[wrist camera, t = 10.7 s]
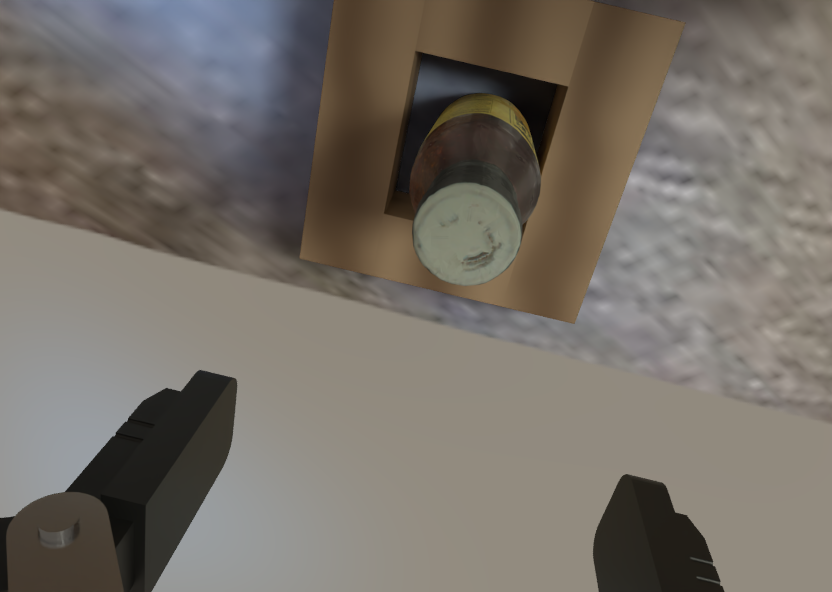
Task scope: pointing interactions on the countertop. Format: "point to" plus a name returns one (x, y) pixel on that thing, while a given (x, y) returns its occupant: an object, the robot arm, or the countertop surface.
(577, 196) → the square wooden frame
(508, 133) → the sauce bottle
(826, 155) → the countertop surface
